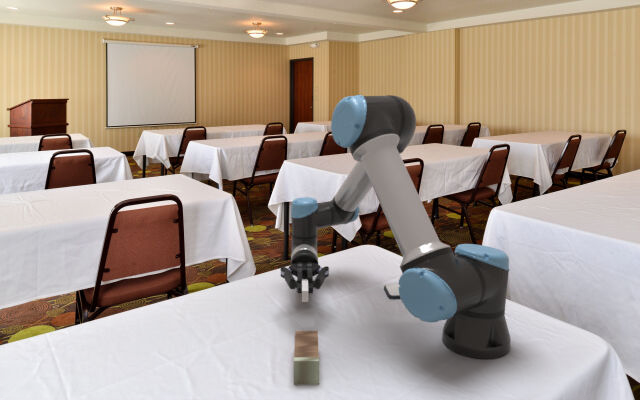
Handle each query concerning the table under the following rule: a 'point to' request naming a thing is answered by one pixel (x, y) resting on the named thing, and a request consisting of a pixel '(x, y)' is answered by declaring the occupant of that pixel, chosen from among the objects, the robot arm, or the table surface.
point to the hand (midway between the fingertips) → (305, 296)
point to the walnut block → (306, 357)
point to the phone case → (392, 291)
